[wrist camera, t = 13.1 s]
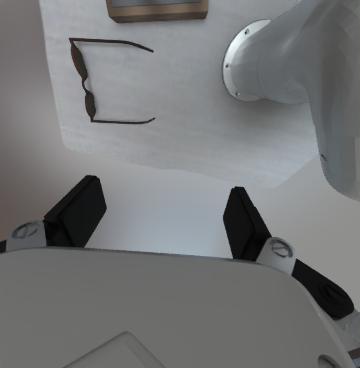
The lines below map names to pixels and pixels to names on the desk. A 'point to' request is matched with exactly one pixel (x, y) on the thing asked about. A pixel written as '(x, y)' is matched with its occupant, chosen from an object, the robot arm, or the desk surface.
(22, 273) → the robot arm
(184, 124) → the desk surface
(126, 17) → the plinth
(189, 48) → the desk surface
